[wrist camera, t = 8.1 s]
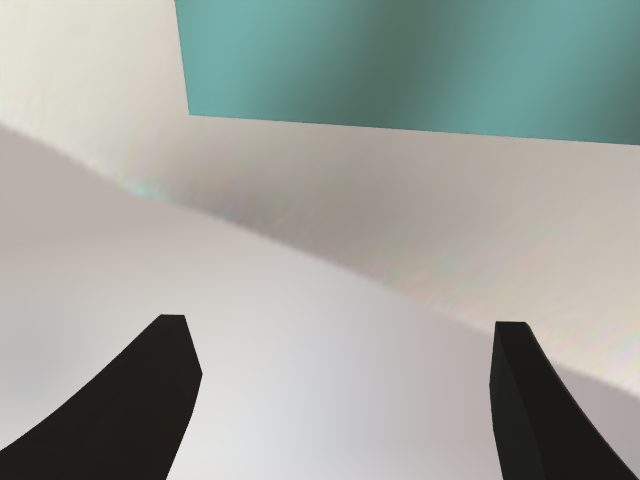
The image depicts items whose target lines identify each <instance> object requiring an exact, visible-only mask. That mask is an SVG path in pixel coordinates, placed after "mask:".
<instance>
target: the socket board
mask: <svg viewBox="0 0 640 480" xmlns="http://www.w3.org/2000/svg"><path fill="white" fill-rule="evenodd" d="M175 6H176V14H177V22H178V30H179V37H180V45H181V53H182V61H183V69H184V76H185V84H186V92H187V100H188V108H189V115H199V116H214V117H228V118H243V119H258V120H273V121H288V122H303V123H317V124H332V125H347V126H362V127H377V128H391V129H406V130H421V131H436V132H451V133H466V134H480V135H495V136H510V137H525V138H540V139H555V140H569V141H584V142H599V143H614V144H629V145H640V0H175Z"/></svg>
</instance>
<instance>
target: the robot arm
mask: <svg viewBox="0 0 640 480" xmlns="http://www.w3.org/2000/svg"><path fill="white" fill-rule="evenodd" d="M201 378H202V370H201V367H200V364H199V361H198V358H197V354H196V351H195V348H194V345H193V341H192V338H191V335H190V332H189V329H188V326H187V322H186V319H185V316H184V315H162V314H161V315H160V316H158V317H157V318H156V319H155V320H154V321H153V322H152V323H151V324H150V325H149V326H148V327H147V328H146V329H144V330H143V332H141V333H140V334H139V335H138V337H136V338H135V339H134V340H133V341H132V342H131V343H130V344H129V345H128V346H127V347H126V348H125V349H124V350H123V351H122V352H121V353H120V354H119V355H118V356H116V358H114V359H113V360H112V361H111V362H110V363H109V364H108V365H107V366H106V367H105V368H104V369H103V370H102V371H101V372H99V373H98V374H97V375H96V376H95V377H94V378H93V379H92V380H91V381H89V382H88V383H87V384H86V385H85V386H84V387H82V388H81V389H80V390H79V391H78V392H77V393H76V394H75V395H73V396H72V397H71V398H70V399H69V400H67V401H66V402H65V403H64V404H63V405H62V406H60V407H59V408H58V409H57V410H55V411H54V412H53V413H52V414H50V415H49V416H48V417H47V418H45V419H44V420H43V421H42V422H40V423H39V424H38V425H36V426H35V427H33V428H32V429H31V430H30V431H28V432H27V433H25V434H24V435H23V436H21V437H20V438H19V439H17V440H16V441H14V442H13V443H11V444H10V445H8V446H7V447H5V448H4V449H2V450H1V451H0V480H166V478H167V476H168V473H169V471H170V468H171V466H172V464H173V461H174V459H175V456H176V453H177V451H178V449H179V446H180V444H181V441H182V439H183V436H184V434H185V431H186V428H187V426H188V424H189V421H190V418H191V416H192V413H193V409H194V406H195V402H196V398H197V395H198V391H199V387H200V382H201ZM489 386H490V400H491V411H492V421H493V431H494V436H495V441H496V446H497V451H498V456H499V461H500V466H501V471H502V476H503V480H639V479H638V478H637V477H636V476H635V474H634V473H633V472H632V471H631V470H630V469H629V468H628V467H627V466H626V464H625V463H624V462H623V461H622V460H621V459H620V457H619V456H618V455H617V454H616V453H615V452H614V450H613V449H612V448H611V447H610V446H609V444H608V443H607V442H606V441H605V440H604V438H603V437H602V436H601V435H600V433H599V432H598V430H597V429H596V428H595V427H594V425H593V424H592V423H591V421H590V420H589V419H588V418H587V416H586V415H585V413H584V412H583V411H582V409H581V408H580V407H579V405H578V404H577V402H576V401H575V400H574V398H573V397H572V395H571V394H570V392H569V391H568V389H567V388H566V387H565V385H564V384H563V382H562V381H561V379H560V378H559V376H558V375H557V373H556V371H555V370H554V368H553V367H552V365H551V363H550V362H549V360H548V359H547V357H546V355H545V354H544V352H543V350H542V349H541V347H540V345H539V343H538V341H537V340H536V338H535V336H534V334H533V332H532V330H531V328H530V326H529V325H528V324H527V323H526V322H503V321H496V323H495V333H494V343H493V353H492V363H491V373H490V384H489Z"/></svg>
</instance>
